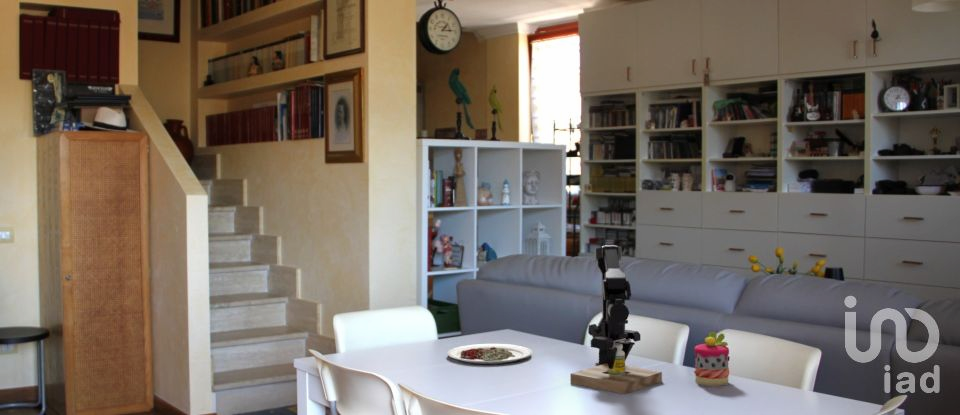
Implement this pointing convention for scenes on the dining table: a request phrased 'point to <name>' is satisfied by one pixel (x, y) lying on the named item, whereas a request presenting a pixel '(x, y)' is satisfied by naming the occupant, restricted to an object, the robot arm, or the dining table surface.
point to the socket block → (616, 378)
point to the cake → (712, 361)
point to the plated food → (489, 353)
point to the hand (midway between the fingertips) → (616, 366)
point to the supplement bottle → (618, 362)
